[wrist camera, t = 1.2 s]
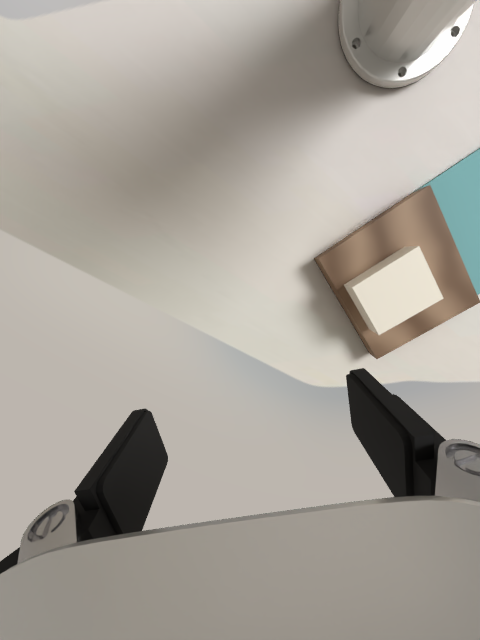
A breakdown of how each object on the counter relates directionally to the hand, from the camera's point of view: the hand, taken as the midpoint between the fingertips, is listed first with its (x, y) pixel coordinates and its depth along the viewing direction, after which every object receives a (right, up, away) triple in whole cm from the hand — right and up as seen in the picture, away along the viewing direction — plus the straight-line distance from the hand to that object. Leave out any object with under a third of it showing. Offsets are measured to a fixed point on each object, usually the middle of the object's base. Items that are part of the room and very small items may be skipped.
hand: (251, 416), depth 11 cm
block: (+18, +8, +17) cm, 26 cm away
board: (+19, +10, +20) cm, 29 cm away
